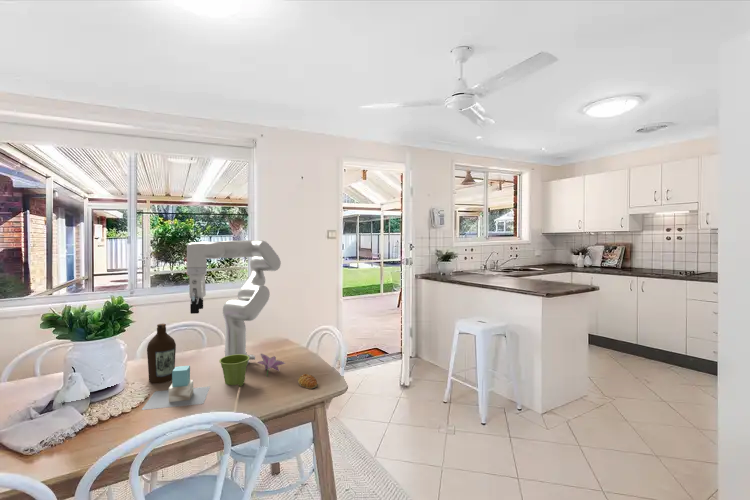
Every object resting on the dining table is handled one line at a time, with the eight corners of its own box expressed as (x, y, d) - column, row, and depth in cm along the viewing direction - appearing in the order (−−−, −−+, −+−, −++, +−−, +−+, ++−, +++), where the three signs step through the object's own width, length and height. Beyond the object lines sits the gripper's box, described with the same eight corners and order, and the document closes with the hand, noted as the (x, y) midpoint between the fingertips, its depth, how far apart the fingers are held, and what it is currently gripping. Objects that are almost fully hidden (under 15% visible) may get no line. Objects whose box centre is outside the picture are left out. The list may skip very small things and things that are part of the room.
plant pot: (219, 381, 159) (219, 356, 158) (248, 378, 163) (248, 353, 163) (219, 392, 148) (219, 365, 148) (250, 388, 153) (250, 361, 152)
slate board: (210, 390, 150) (210, 386, 150) (203, 407, 135) (203, 403, 135) (155, 395, 145) (155, 391, 145) (141, 414, 130) (141, 409, 130)
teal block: (190, 380, 143) (190, 365, 143) (187, 385, 138) (187, 370, 138) (175, 382, 142) (175, 366, 142) (172, 387, 137) (172, 371, 137)
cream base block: (193, 392, 144) (193, 379, 144) (189, 400, 138) (189, 386, 138) (173, 394, 143) (173, 381, 142) (168, 402, 136) (168, 388, 136)
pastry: (321, 387, 156) (321, 378, 155) (307, 391, 151) (307, 382, 151) (309, 380, 163) (309, 371, 162) (296, 384, 158) (296, 375, 158)
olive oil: (143, 382, 157) (143, 324, 156) (170, 375, 165) (170, 320, 164) (152, 389, 150) (152, 328, 149) (180, 382, 158) (179, 324, 157)
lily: (287, 377, 168) (289, 355, 173) (268, 374, 159) (270, 351, 164) (269, 380, 174) (270, 359, 178) (249, 377, 165) (251, 355, 169)
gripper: (202, 273, 151) (202, 314, 152) (209, 269, 168) (209, 307, 168) (182, 273, 149) (182, 315, 150) (191, 269, 166) (191, 307, 166)
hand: (197, 311), depth 159 cm, fingers open, 9 cm apart
